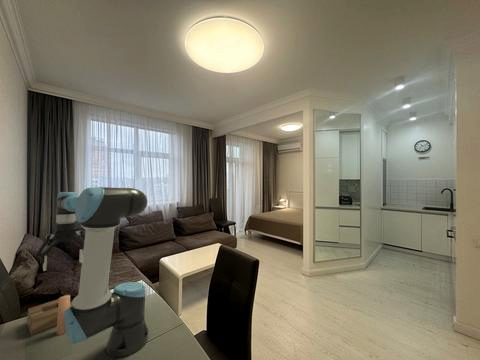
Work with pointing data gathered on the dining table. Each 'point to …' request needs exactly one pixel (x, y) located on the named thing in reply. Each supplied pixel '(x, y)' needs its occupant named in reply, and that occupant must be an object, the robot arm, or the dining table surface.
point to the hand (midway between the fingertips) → (63, 266)
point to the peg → (62, 313)
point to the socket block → (43, 317)
